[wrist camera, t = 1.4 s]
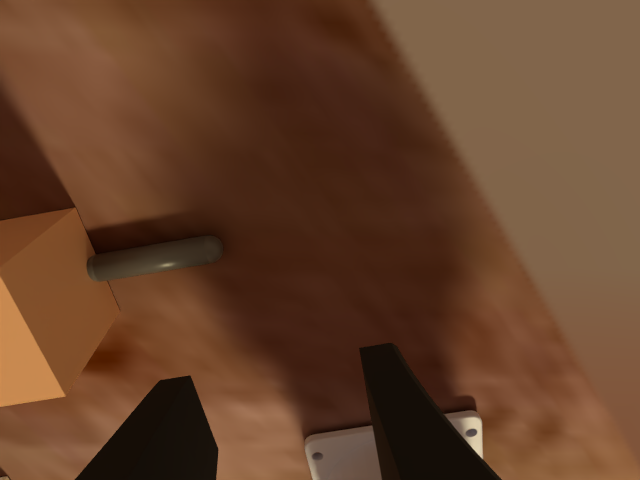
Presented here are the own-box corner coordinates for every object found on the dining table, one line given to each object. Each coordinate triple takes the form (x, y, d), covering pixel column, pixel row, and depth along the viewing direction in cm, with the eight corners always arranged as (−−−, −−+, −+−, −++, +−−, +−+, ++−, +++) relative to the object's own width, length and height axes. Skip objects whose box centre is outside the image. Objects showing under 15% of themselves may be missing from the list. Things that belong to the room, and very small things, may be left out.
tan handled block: (239, 291, 18) (220, 371, 13) (9, 329, 18) (-77, 418, 14) (208, 183, 16) (174, 239, 12) (-48, 228, 16) (-167, 297, 12)
